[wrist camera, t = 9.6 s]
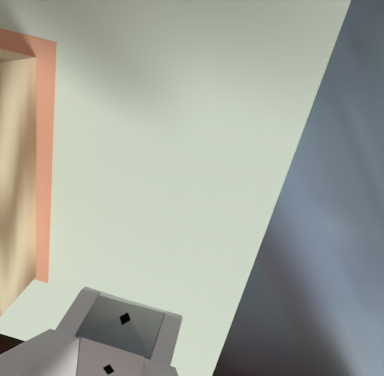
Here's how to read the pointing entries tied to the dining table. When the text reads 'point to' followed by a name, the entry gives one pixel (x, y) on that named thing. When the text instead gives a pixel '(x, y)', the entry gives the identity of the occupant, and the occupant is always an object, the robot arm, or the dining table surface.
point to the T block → (17, 175)
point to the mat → (162, 150)
